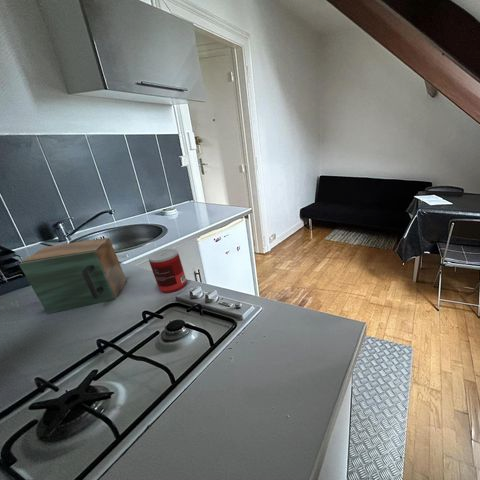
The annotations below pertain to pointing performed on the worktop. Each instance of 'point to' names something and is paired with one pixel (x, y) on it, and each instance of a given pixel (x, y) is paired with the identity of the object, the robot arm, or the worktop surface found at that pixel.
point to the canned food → (167, 270)
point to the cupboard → (98, 245)
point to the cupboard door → (68, 281)
